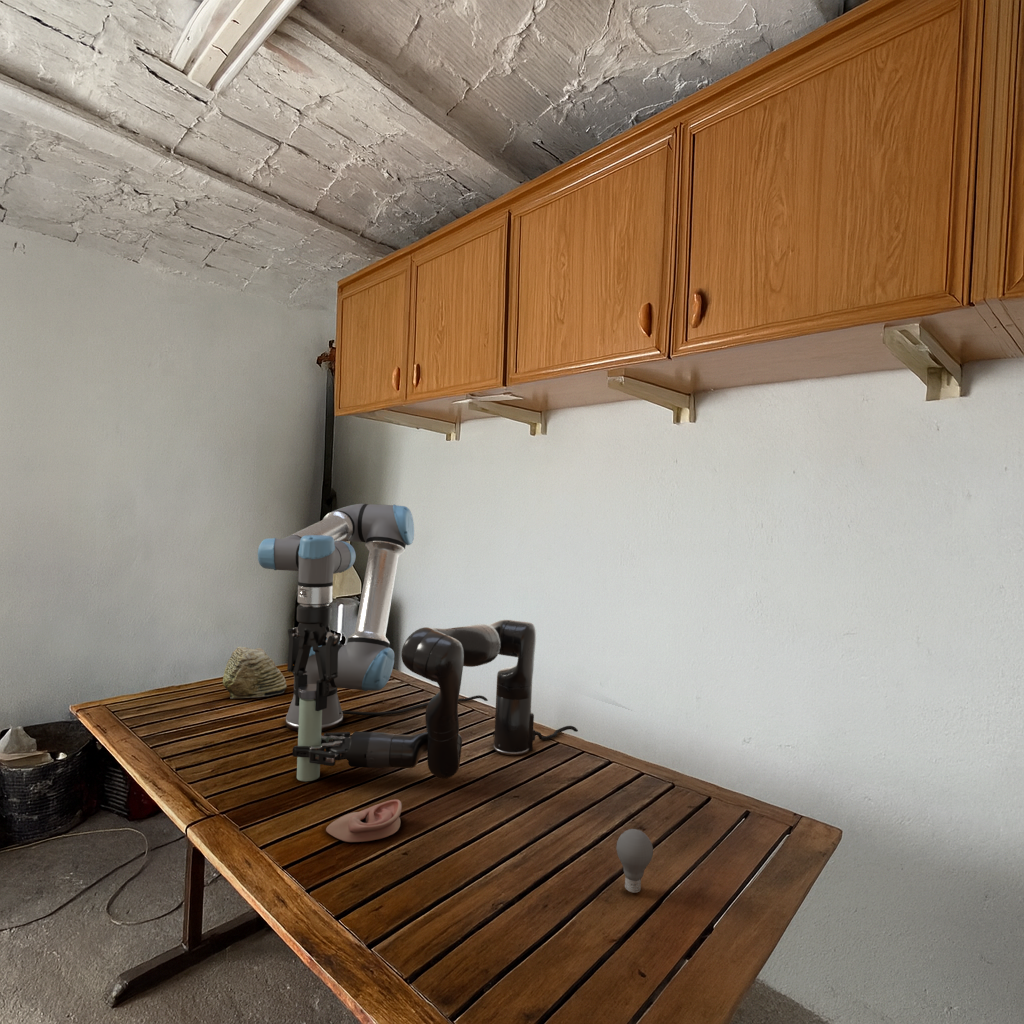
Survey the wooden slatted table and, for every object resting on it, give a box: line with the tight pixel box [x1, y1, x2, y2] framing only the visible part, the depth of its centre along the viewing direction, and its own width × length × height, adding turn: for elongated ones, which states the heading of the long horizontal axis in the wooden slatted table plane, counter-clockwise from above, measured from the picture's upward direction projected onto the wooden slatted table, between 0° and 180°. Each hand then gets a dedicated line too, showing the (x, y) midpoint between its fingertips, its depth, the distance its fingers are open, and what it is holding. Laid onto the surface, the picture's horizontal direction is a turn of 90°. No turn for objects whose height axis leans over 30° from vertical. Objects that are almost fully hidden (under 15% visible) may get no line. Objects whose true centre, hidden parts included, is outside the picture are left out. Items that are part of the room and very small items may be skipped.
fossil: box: [222, 646, 288, 699], centre depth 198 cm, size 9×18×15 cm, turn 132°
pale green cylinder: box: [296, 698, 322, 782], centre depth 143 cm, size 5×5×20 cm
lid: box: [298, 684, 316, 700], centre depth 143 cm, size 6×6×2 cm
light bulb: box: [615, 828, 654, 894], centre depth 106 cm, size 6×6×10 cm
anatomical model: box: [325, 799, 403, 843], centre depth 122 cm, size 13×4×12 cm
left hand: (310, 706), depth 143 cm, fingers closed on lid, 5 cm apart
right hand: (297, 746), depth 143 cm, fingers closed on pale green cylinder, 5 cm apart
